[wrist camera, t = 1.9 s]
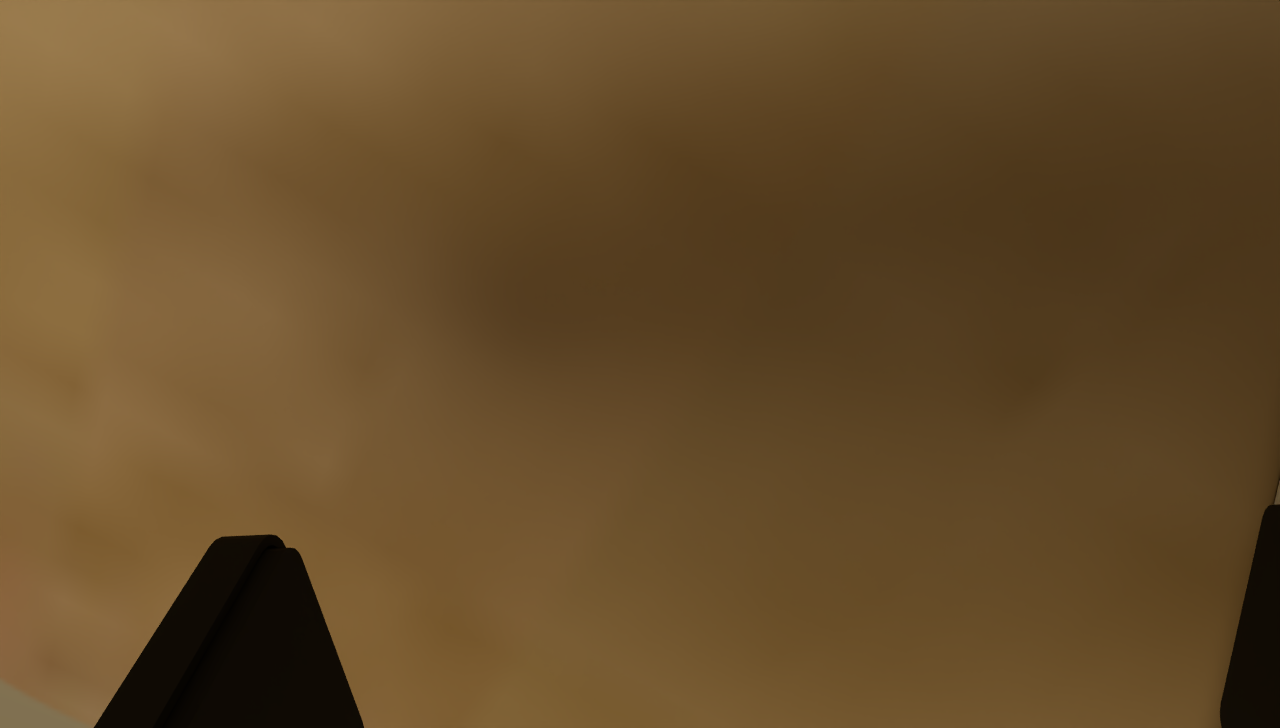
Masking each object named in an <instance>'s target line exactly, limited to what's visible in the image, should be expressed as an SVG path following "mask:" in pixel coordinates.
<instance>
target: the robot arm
mask: <svg viewBox="0 0 1280 728" xmlns="http://www.w3.org/2000/svg"><path fill="white" fill-rule="evenodd" d="M1220 720H1221V726H1222V728H1280V504H1275V505H1270V506H1268V507H1267V509H1266V510H1265V512H1264V515H1263V518H1262V522H1261V527H1260V531H1259V535H1258V540H1257V544H1256V549H1255V553H1254V558H1253V562H1252V567H1251V571H1250V576H1249V580H1248V585H1247V589H1246V593H1245V598H1244V602H1243V607H1242V611H1241V616H1240V620H1239V625H1238V629H1237V634H1236V638H1235V642H1234V647H1233V651H1232V656H1231V660H1230V665H1229V669H1228V674H1227V678H1226V683H1225V687H1224V692H1223V696H1222V700H1221V707H1220ZM94 728H364V726H363V722H362V719H361V716H360V714H359V711H358V708H357V706H356V703H355V700H354V697H353V695H352V692H351V689H350V687H349V684H348V681H347V679H346V676H345V673H344V670H343V668H342V665H341V662H340V660H339V657H338V654H337V652H336V649H335V646H334V643H333V641H332V638H331V635H330V633H329V630H328V627H327V625H326V622H325V619H324V617H323V614H322V611H321V608H320V606H319V603H318V600H317V598H316V595H315V592H314V590H313V587H312V584H311V581H310V579H309V576H308V573H307V571H306V568H305V565H304V563H303V560H302V558H301V556H300V554H299V552H298V551H297V550H296V549H295V548H286V547H285V545H284V543H283V541H282V540H281V539H280V538H279V537H278V536H276V535H250V536H228V537H221V538H219V539H216V540H215V541H214V542H213V543H212V544H211V546H210V547H209V548H208V550H207V551H206V553H205V555H204V556H203V558H202V559H201V561H200V562H199V564H198V566H197V567H196V569H195V570H194V572H193V573H192V575H191V576H190V578H189V580H188V581H187V583H186V584H185V586H184V587H183V589H182V591H181V592H180V594H179V595H178V597H177V598H176V600H175V601H174V603H173V605H172V606H171V608H170V609H169V611H168V612H167V614H166V616H165V617H164V619H163V620H162V622H161V623H160V625H159V627H158V628H157V630H156V631H155V633H154V634H153V636H152V637H151V639H150V641H149V642H148V644H147V645H146V647H145V648H144V650H143V652H142V653H141V655H140V656H139V658H138V659H137V661H136V662H135V664H134V666H133V667H132V669H131V670H130V672H129V673H128V675H127V677H126V678H125V680H124V681H123V683H122V684H121V686H120V687H119V689H118V691H117V692H116V694H115V695H114V697H113V698H112V700H111V702H110V703H109V705H108V706H107V708H106V709H105V711H104V712H103V714H102V716H101V717H100V719H99V720H98V722H97V723H96V725H95V727H94Z"/></svg>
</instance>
